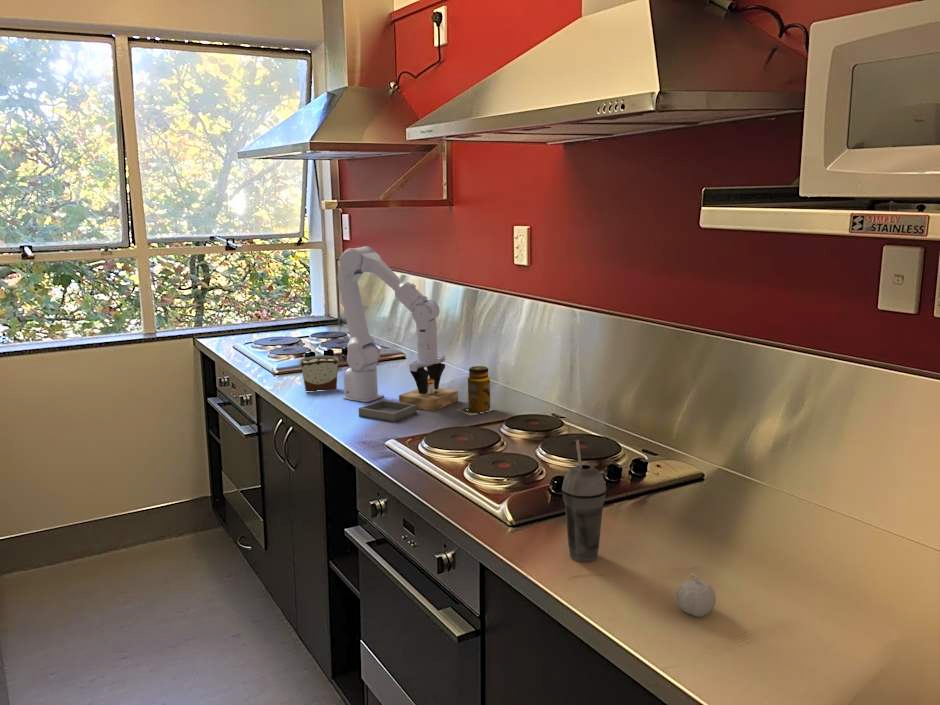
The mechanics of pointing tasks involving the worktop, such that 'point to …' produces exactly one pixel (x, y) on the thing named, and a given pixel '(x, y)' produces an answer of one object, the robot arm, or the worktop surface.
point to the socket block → (430, 399)
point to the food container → (320, 372)
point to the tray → (387, 410)
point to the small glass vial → (430, 387)
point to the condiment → (478, 391)
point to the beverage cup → (583, 509)
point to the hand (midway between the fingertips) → (428, 391)
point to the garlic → (696, 597)
